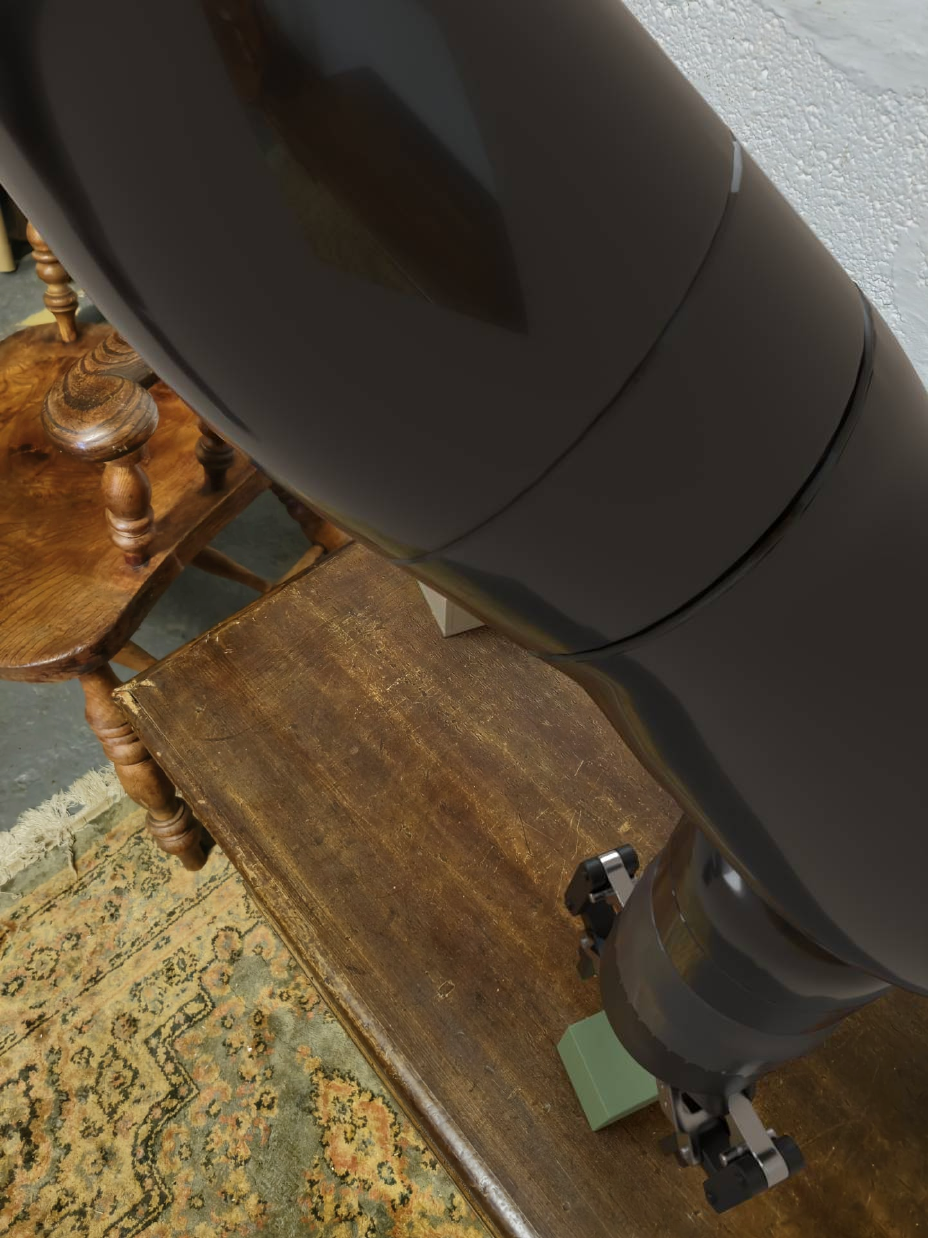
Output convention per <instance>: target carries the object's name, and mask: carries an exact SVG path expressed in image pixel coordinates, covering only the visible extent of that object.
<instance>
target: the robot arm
mask: <svg viewBox="0 0 928 1238" xmlns="http://www.w3.org/2000/svg"><path fill="white" fill-rule="evenodd" d="M0 185H1V186H2V187H3V189H4V190H5V191H6V193H7V194H8V196H9V197H10V198H11V199H12V200H13V202H14V204H15V205H16V206H17V207H18V209H19V210H20V211H21V213H22V214H23V215H24V216H25V218H26V219H27V221H28V222H29V223H30V224H31V226H32V227H33V228H34V230H35V232H36V233H37V234H38V235H39V236H40V237H41V240H42V241H43V242H44V243H45V245H46V246H47V247H48V249H49V250H50V251H51V252H52V254H53V255H54V257H55V258H56V259H57V261H58V262H59V263H60V265H61V266H62V267H63V269H64V270H65V271H66V272H67V274H68V275H69V276H70V278H72V280H73V281H74V283H76V285H77V286H78V287H79V288H80V290H81V291H82V292H83V293H84V294H85V296H86V297H87V298H88V299H89V300H90V302H91V303H92V304H93V305H94V306H95V308H96V309H97V310H98V312H99V313H100V314H101V315H102V316H103V317H104V319H105V320H106V321H107V322H108V324H109V325H110V326H111V327H112V328H113V329H114V330H115V331H116V332H117V334H118V335H119V336H120V337H121V338H122V339H123V340H124V341H125V342H126V344H128V346H130V348H131V349H132V350H133V351H134V352H135V353H136V355H138V357H139V358H140V359H141V360H142V362H144V364H146V365H147V366H148V368H149V369H150V370H151V371H152V372H153V373H154V375H156V376H157V378H159V379H160V381H161V382H162V383H163V384H164V385H165V386H166V387H167V388H168V389H169V390H171V392H172V393H174V394H175V395H176V396H177V397H178V398H179V399H180V400H181V402H182V403H184V404H185V405H186V407H188V408H189V409H190V410H191V411H192V412H193V413H194V414H195V415H196V416H197V417H198V418H199V419H200V420H201V422H203V423H204V424H205V425H206V426H207V427H208V428H209V429H210V430H211V431H212V432H213V433H214V434H216V435H217V436H218V437H219V438H220V439H221V440H222V441H224V442H225V443H226V444H228V445H229V446H230V447H231V448H232V449H233V450H234V451H235V452H237V453H238V454H239V455H240V456H241V457H242V458H243V459H245V460H246V461H247V462H248V463H249V464H250V465H252V466H253V467H254V468H255V469H256V470H257V471H259V472H260V473H261V474H262V475H263V476H264V477H266V478H267V479H268V480H270V482H273V483H274V484H275V485H276V486H277V487H279V488H281V489H282V490H283V491H285V492H286V493H287V494H288V495H290V496H292V498H293V499H295V500H297V501H298V502H299V503H300V504H302V505H303V506H305V507H306V508H307V509H309V510H310V511H312V512H313V513H314V514H316V515H317V516H318V517H319V518H321V520H324V521H325V522H327V523H328V524H330V525H332V527H334V528H336V529H338V530H339V531H340V532H342V533H344V534H345V535H347V536H348V537H349V538H352V540H354V541H356V542H357V543H359V544H360V545H362V546H363V547H364V548H366V549H368V550H369V551H371V552H372V553H374V554H375V555H376V556H379V557H381V558H383V559H384V560H386V561H387V562H389V563H390V564H392V565H393V566H395V567H396V568H398V569H400V570H401V571H403V572H404V573H406V574H407V575H408V576H410V577H412V578H413V579H415V580H416V581H417V580H418V581H420V582H421V583H423V584H424V585H426V586H427V587H429V588H430V589H432V590H433V591H435V592H436V593H438V594H440V595H441V596H443V597H444V598H446V599H447V600H449V601H450V602H452V603H453V604H455V605H456V606H458V607H459V608H461V609H463V610H464V611H466V612H467V613H469V614H470V615H472V616H473V617H475V618H476V619H478V620H479V621H481V622H483V623H484V624H486V625H485V626H487V627H489V629H492V630H493V631H495V632H497V633H498V634H499V635H501V636H503V638H505V639H507V640H509V641H510V642H511V643H513V644H514V645H516V646H518V647H519V648H521V649H523V650H524V651H526V652H527V653H528V654H529V655H531V656H533V657H535V658H536V659H538V660H539V661H541V662H542V663H545V664H546V665H548V666H549V667H551V668H553V669H555V670H557V671H558V672H560V673H561V674H563V675H564V676H566V677H568V678H569V679H570V680H572V681H573V682H574V683H575V684H577V685H578V686H579V687H581V688H582V690H583V691H584V692H585V693H586V694H587V695H588V697H589V698H590V699H591V700H592V701H593V703H594V704H595V705H596V707H597V708H598V709H599V710H600V712H601V713H602V715H603V716H604V717H605V718H606V720H607V721H608V723H609V724H610V726H612V728H613V729H614V731H615V732H616V733H617V735H618V736H619V737H620V739H621V740H622V742H623V743H624V744H625V746H626V747H627V749H628V750H629V751H630V753H632V755H633V756H634V758H635V759H636V760H637V761H638V762H639V763H640V765H641V766H642V767H643V768H644V770H645V771H646V772H647V774H648V775H649V776H650V777H651V778H652V779H653V780H654V781H655V782H656V783H657V785H658V786H660V788H661V789H662V790H663V791H664V792H665V793H666V794H667V795H668V796H669V797H670V798H671V799H672V800H673V802H674V803H675V804H676V805H677V807H678V808H679V809H680V810H681V811H682V812H683V813H682V815H681V816H680V819H679V820H678V822H677V823H676V826H675V827H674V829H673V831H672V832H671V835H670V836H669V837H668V840H667V842H666V843H665V845H664V846H663V847H662V848H661V849H660V850H659V851H658V852H657V853H656V854H655V855H654V856H653V857H652V858H651V860H650V861H649V862H648V863H647V865H646V866H645V868H644V869H643V871H642V872H641V874H640V875H639V877H637V876H636V875H635V874H636V873H637V872H638V870H639V869H640V861H639V855H638V853H637V852H636V850H635V849H634V847H633V846H632V845H631V844H630V843H625V844H622V845H619V846H618V847H614V848H613V849H609V850H608V851H606V852H603V853H601V854H598V855H595V856H592V857H589V858H587V859H585V860H582V861H580V863H579V864H578V866H577V868H576V870H575V872H574V874H573V876H572V878H571V880H570V882H569V884H568V885H567V887H566V889H565V892H564V894H563V898H564V899H563V900H564V906H565V909H566V910H567V911H568V912H569V913H570V915H571V916H572V917H574V918H576V917H577V916H580V917H581V921H582V923H583V929H581V930H579V931H578V934H577V935H578V942H579V945H578V949H577V950H578V955H579V960H578V962H577V964H576V966H575V968H576V971H577V972H578V975H579V977H580V979H581V981H584V980H587V979H590V978H592V977H594V976H597V977H598V981H599V983H598V984H599V992H600V997H601V1002H602V1006H603V1011H604V1010H605V1013H606V1016H607V1019H608V1021H609V1023H610V1026H611V1028H612V1029H613V1031H614V1033H615V1035H616V1037H617V1038H618V1040H619V1042H620V1043H621V1044H622V1046H623V1047H624V1049H625V1050H626V1051H627V1052H628V1053H629V1055H630V1056H631V1057H632V1058H633V1059H634V1060H635V1061H636V1062H637V1063H638V1064H639V1065H640V1066H641V1067H642V1068H644V1069H645V1070H646V1071H647V1072H649V1073H650V1074H651V1075H653V1076H654V1077H655V1079H656V1085H657V1090H658V1096H659V1100H658V1101H659V1106H660V1110H661V1111H662V1113H663V1114H664V1115H665V1117H666V1118H667V1120H668V1121H669V1122H670V1124H671V1125H672V1127H673V1128H674V1130H675V1131H673V1132H672V1133H670V1134H668V1135H666V1136H665V1137H663V1138H660V1139H659V1140H657V1143H658V1145H659V1147H660V1149H661V1152H662V1154H663V1156H664V1157H668V1156H670V1155H672V1154H673V1156H674V1157H675V1160H676V1162H677V1164H678V1165H679V1166H680V1167H681V1168H683V1169H685V1168H688V1167H690V1168H694V1167H696V1166H698V1165H699V1166H700V1167H701V1169H702V1170H703V1172H704V1173H705V1175H706V1176H707V1178H706V1179H705V1180H704V1181H702V1187H703V1191H704V1197H705V1199H706V1202H707V1203H708V1204H709V1206H710V1207H712V1209H713V1210H714V1211H715V1213H717V1214H718V1215H721V1214H723V1213H724V1212H726V1211H729V1210H730V1209H732V1208H735V1207H737V1206H738V1205H740V1204H742V1203H745V1202H747V1201H748V1200H750V1199H752V1198H754V1197H756V1196H757V1195H759V1194H761V1193H763V1192H765V1191H767V1190H769V1189H771V1188H772V1187H774V1186H776V1185H778V1184H779V1183H781V1182H783V1181H785V1180H787V1179H788V1178H790V1177H792V1176H794V1175H796V1174H798V1173H799V1172H802V1171H803V1170H804V1169H806V1161H805V1159H804V1155H803V1153H802V1151H801V1149H800V1147H799V1146H798V1145H797V1143H796V1142H795V1140H794V1139H793V1138H792V1137H791V1136H790V1135H788V1134H786V1133H785V1134H783V1135H781V1136H779V1137H778V1135H777V1133H776V1131H775V1130H774V1129H773V1128H772V1127H768V1128H765V1126H764V1124H763V1123H762V1120H761V1119H760V1117H759V1115H758V1114H757V1112H756V1110H755V1109H754V1106H753V1105H752V1103H751V1102H752V1101H753V1100H754V1098H755V1095H756V1091H757V1090H756V1085H757V1082H758V1081H760V1080H762V1079H763V1078H765V1077H767V1076H769V1075H771V1074H772V1073H774V1072H776V1071H777V1070H779V1069H781V1068H783V1067H785V1066H787V1065H788V1064H790V1063H792V1062H793V1061H795V1060H801V1059H806V1058H808V1057H809V1056H810V1055H812V1054H813V1053H814V1052H815V1051H816V1050H817V1049H818V1048H819V1047H820V1046H821V1045H822V1044H824V1042H825V1041H826V1040H827V1039H828V1038H829V1037H830V1036H831V1035H832V1034H833V1033H835V1032H836V1031H837V1030H838V1028H839V1027H840V1026H841V1025H842V1023H843V1022H844V1021H845V1020H846V1018H849V1017H850V1016H852V1015H853V1014H854V1013H856V1012H858V1011H860V1010H861V1009H863V1008H865V1007H867V1006H868V1005H870V1004H871V1003H874V1002H875V1001H877V1000H879V999H881V998H882V997H883V996H886V995H887V994H889V993H891V992H892V991H893V990H895V989H896V988H898V989H900V990H903V991H905V992H908V993H910V994H913V995H916V996H919V997H922V998H926V999H928V391H927V389H926V387H925V385H924V383H923V381H922V379H921V378H920V376H919V374H918V372H917V371H916V369H915V367H914V365H913V363H912V361H911V360H910V358H909V356H908V355H907V353H906V352H905V350H904V348H903V346H902V345H901V343H900V342H899V340H898V338H897V337H896V335H895V333H894V332H893V330H892V329H891V327H890V326H889V325H888V323H887V322H886V320H885V319H884V317H883V315H882V314H881V313H880V312H879V310H878V309H877V307H876V306H875V305H874V303H872V300H870V298H869V297H868V296H867V295H866V294H865V292H864V291H863V290H862V288H861V287H860V286H859V284H858V283H857V282H856V281H854V280H853V279H852V277H851V276H850V275H849V273H848V272H847V270H846V269H845V268H844V266H843V265H842V264H841V262H839V260H838V259H837V258H836V256H835V255H834V254H833V253H832V252H831V250H830V249H829V248H828V246H827V245H826V244H825V243H824V242H823V241H822V239H821V238H820V237H819V236H818V235H817V233H816V232H815V230H814V229H812V227H811V226H810V224H808V222H807V221H806V220H805V219H804V217H803V216H802V215H801V214H800V213H799V211H798V210H797V208H795V206H794V205H793V204H792V203H791V202H790V200H789V199H788V197H786V195H785V194H784V193H783V192H782V191H781V189H780V188H779V187H778V185H777V184H776V183H775V182H774V181H773V179H772V178H771V177H770V176H769V175H768V173H767V172H766V171H765V170H764V168H763V167H762V166H761V165H760V163H758V161H757V160H756V159H755V157H754V156H753V155H752V154H751V153H750V151H749V150H748V149H747V148H746V147H745V145H744V144H743V143H742V141H740V139H739V138H738V137H737V135H736V134H735V132H733V130H732V129H731V128H730V127H729V126H728V125H727V124H726V122H725V120H724V119H723V118H722V117H721V116H720V115H719V114H718V112H717V111H716V110H715V109H714V108H713V106H712V105H711V104H710V103H709V102H708V101H707V99H706V98H705V97H704V96H703V94H701V92H700V91H699V90H698V88H697V87H695V85H694V84H693V83H692V82H691V80H690V79H689V78H688V77H687V76H686V75H685V73H684V72H683V71H682V70H681V68H679V66H678V64H676V63H675V62H674V61H673V60H672V58H671V57H670V56H669V55H668V54H667V52H666V51H665V50H664V49H663V47H662V46H661V45H660V44H659V43H658V42H657V40H656V39H655V38H654V37H653V36H652V35H651V33H650V32H649V31H648V30H647V29H646V27H644V25H643V24H642V23H641V21H640V20H639V19H638V18H637V17H636V15H634V13H633V12H632V11H631V10H630V9H629V8H628V6H627V5H626V4H625V3H624V2H623V1H622V0H0ZM615 909H616V910H617V912H616V910H615Z"/></svg>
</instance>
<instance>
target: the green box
mask: <svg viewBox="0 0 928 1238" xmlns="http://www.w3.org/2000/svg"><path fill="white" fill-rule="evenodd" d="M556 1050H557V1052H558V1054H559V1056H560V1059H561V1061H562V1063H563V1066H564V1068H565V1071H566V1073H567V1075H568V1077H569V1080H570V1082H571V1084H572V1086H573V1089H574V1091H575V1094H576V1096H577V1098H578V1100H579V1103H580V1105H581V1108H582V1110H583V1112H584V1114H585V1117H586V1119H587V1121H588V1123H589V1126H590V1128H591V1131H592V1132H597V1131H599V1130H601V1129H603V1128H604V1127H607V1126H609V1125H611V1124H613V1123H616V1122H617V1121H619V1120H621V1119H623V1118H626V1117H627V1116H629V1115H631V1114H633V1113H635V1112H637V1111H639V1110H641V1109H644V1108H645V1107H647V1106H649V1105H652V1104H653V1103H655V1102H657V1101H659V1096H658V1090H657V1085H656V1079H655V1077H654V1076H653V1075H651V1074H650V1073H649V1072H647V1071H646V1070H645V1069H644V1068H642V1067H641V1066H640V1065H639V1064H638V1063H637V1062H636V1061H635V1060H634V1059H633V1058H632V1057H631V1056H630V1055H629V1053H628V1052H627V1051H626V1050H625V1049H624V1047H623V1046H622V1044H621V1043H620V1042H619V1040H618V1038H617V1037H616V1035H615V1033H614V1031H613V1029H612V1028H611V1026H610V1023H609V1021H608V1019H607V1016H606V1013H605V1010H604V1009H603V1010H601V1011H599V1012H597V1013H595V1014H593V1015H590V1016H588V1017H586V1018H583V1019H581V1020H579V1021H576V1022H575V1023H572V1024H571V1025H569V1026H568V1027H567V1029H566V1030H565V1032H564V1034H563V1035H562V1037H561V1039H560V1040H559V1042H558V1043H557V1045H556Z"/></svg>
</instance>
